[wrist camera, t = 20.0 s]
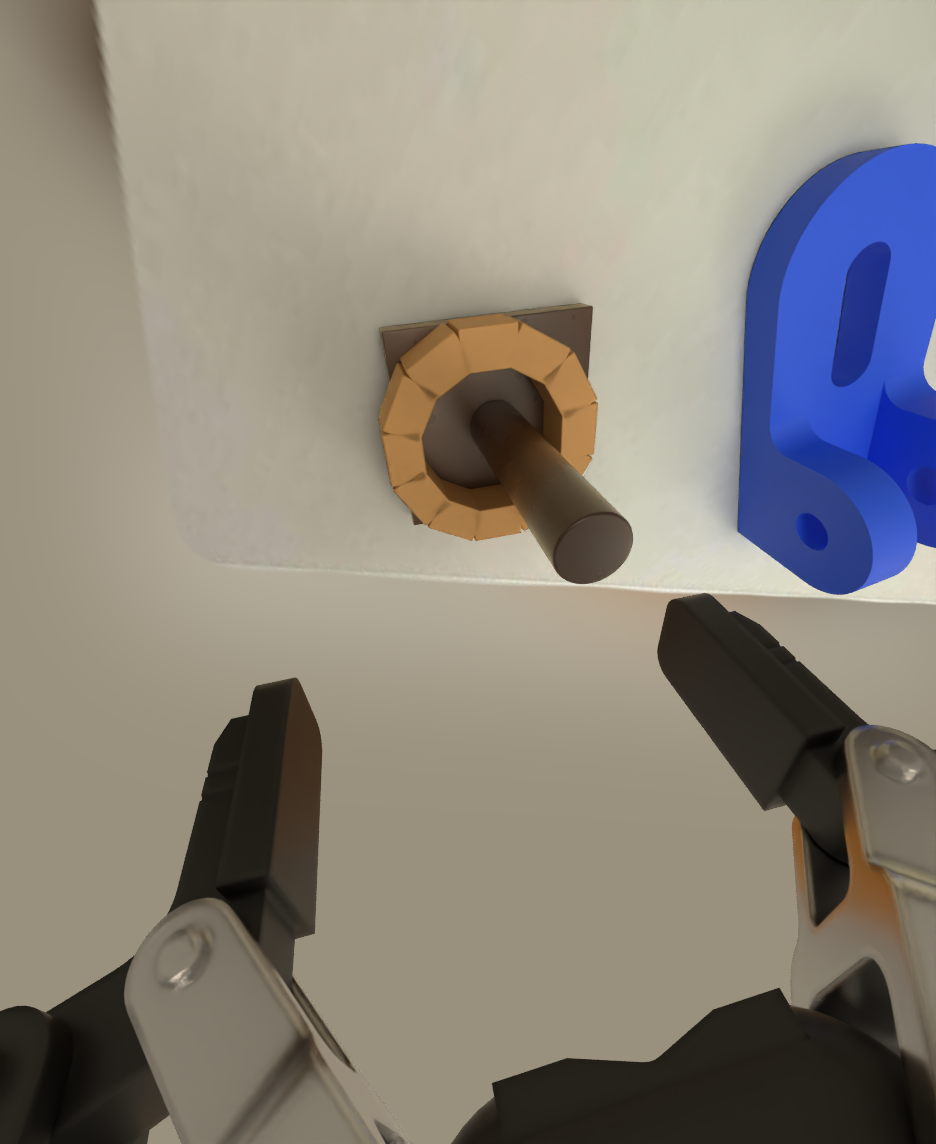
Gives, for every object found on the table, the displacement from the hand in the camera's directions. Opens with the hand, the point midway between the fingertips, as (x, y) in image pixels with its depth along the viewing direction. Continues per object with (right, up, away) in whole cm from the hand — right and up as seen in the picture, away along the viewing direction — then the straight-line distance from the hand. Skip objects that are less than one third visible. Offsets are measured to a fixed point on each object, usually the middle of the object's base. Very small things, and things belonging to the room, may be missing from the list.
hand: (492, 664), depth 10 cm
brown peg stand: (0, +9, +13) cm, 16 cm away
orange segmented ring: (0, +9, +12) cm, 15 cm away
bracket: (+18, +13, +15) cm, 27 cm away
